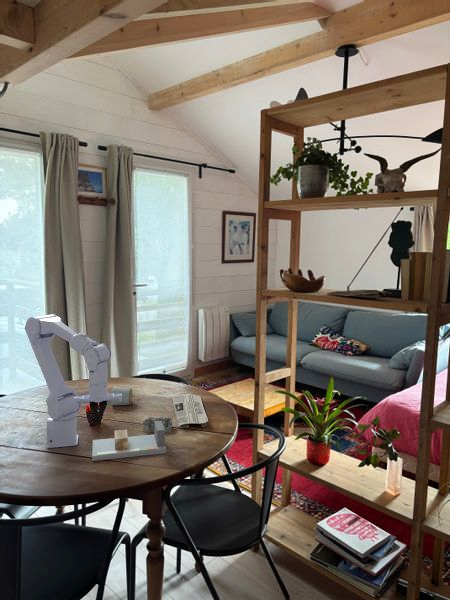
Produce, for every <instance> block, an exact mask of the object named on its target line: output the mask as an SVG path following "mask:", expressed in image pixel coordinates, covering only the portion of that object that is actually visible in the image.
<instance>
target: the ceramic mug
mask: <svg viewBox="0 0 450 600" xmlns="http://www.w3.org/2000/svg"><path fill="white" fill-rule="evenodd" d="M111 394H122V401H110V403H111V406H130V405H132V402H133V388H132V387H122V386H113V387H112V389H111Z"/></svg>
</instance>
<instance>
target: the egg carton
mask: <svg viewBox="0 0 450 600" xmlns="http://www.w3.org/2000/svg"><path fill="white" fill-rule="evenodd" d="M173 419H174V418H173V416H170V417H162V416H161V417H154V416H148V417H146V418H145V419H144V421H142V425H143V427H142V428H143V429H142V431H143V432H145V433H150V432H154V421H162V424H163V427H164V429H165V433H169V432H171V431H172V428H173Z"/></svg>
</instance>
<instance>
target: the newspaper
mask: <svg viewBox="0 0 450 600" xmlns="http://www.w3.org/2000/svg"><path fill="white" fill-rule="evenodd" d="M171 400H172V403H173V409H174V413H175V417H176V422H177V425H178V428H179V429H185V428H188V427H187V426H188V425H189V424H200V427H203V428H205V427H206V426H207V422H209V419H208V416H207V414H206V411H205V408H204V406H203V401H202V398H201V395H197V394H193V393H184V394H183V393H182V394H174V395H172V396H171Z"/></svg>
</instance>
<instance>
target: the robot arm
mask: <svg viewBox="0 0 450 600" xmlns="http://www.w3.org/2000/svg"><path fill="white" fill-rule="evenodd" d="M24 330H25V333H26V335H27V338H28V340H29V343H30V345H31V349H32V351H33V353H34V356H35V358H36V361H37V363H38V365H39V369H40V371H41V372H42V375H43V378H44V380H45V381H44V382H45V383H46V385H47V388H48V390H49V394H48V396H47V398H46V399H45V403H46V406H47V413H48V415H49V417H48V418H47V420H46V449H53V448H65V447H72V446H73V447H75V446H78V442H79V434H77V415H78V413H79V411H80V410H81V408H82V404H89V408H90V409H91V412H92V415H94V419H95V425H96V426H100V425H101V424H102V419H103V415H104V413H105V411H106V408H107V405H108V402H111V401H122V394H112V392H111V393H109V391H108V361H110V359H111V357H112V351H111V348H110V347H109V345H107V344H106V343H98V342H97V341H96V340H93V339H92V338H90V337H89V336H88V335H87V333H84V332H83V333H81V332H79V333H77V332H75V331H74V330H73V329H71V328H70V327H69V326H67V325H66V324H65V323H64V322H63V321H62V318H61V317H59V316H58V315H56V314H55V313H50V314H46V315H38V316H29V317H28V319H27V320H26V322H25V325H24ZM56 336H58V337H59V338H61V339H63V340H65V341H66V342H68V343H69V345H70V348H71V349H72V350H74V351H75V352H77V353H78V354H79V355H81V356H83V357H84V361H85V362H86V368H87V370H88V394H85V395H78V394H77V393H76V391H75V389H74V388H72V387H69V386H68V385H67V384H66V381H65V379H64V377H63V375H62V372H61V369H60V367H59V365H58V362H57V360H56V357H55V355H54V353H53V350H52V347H51V345H50V343H51V341H52V340H53V339H54V337H56Z"/></svg>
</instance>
